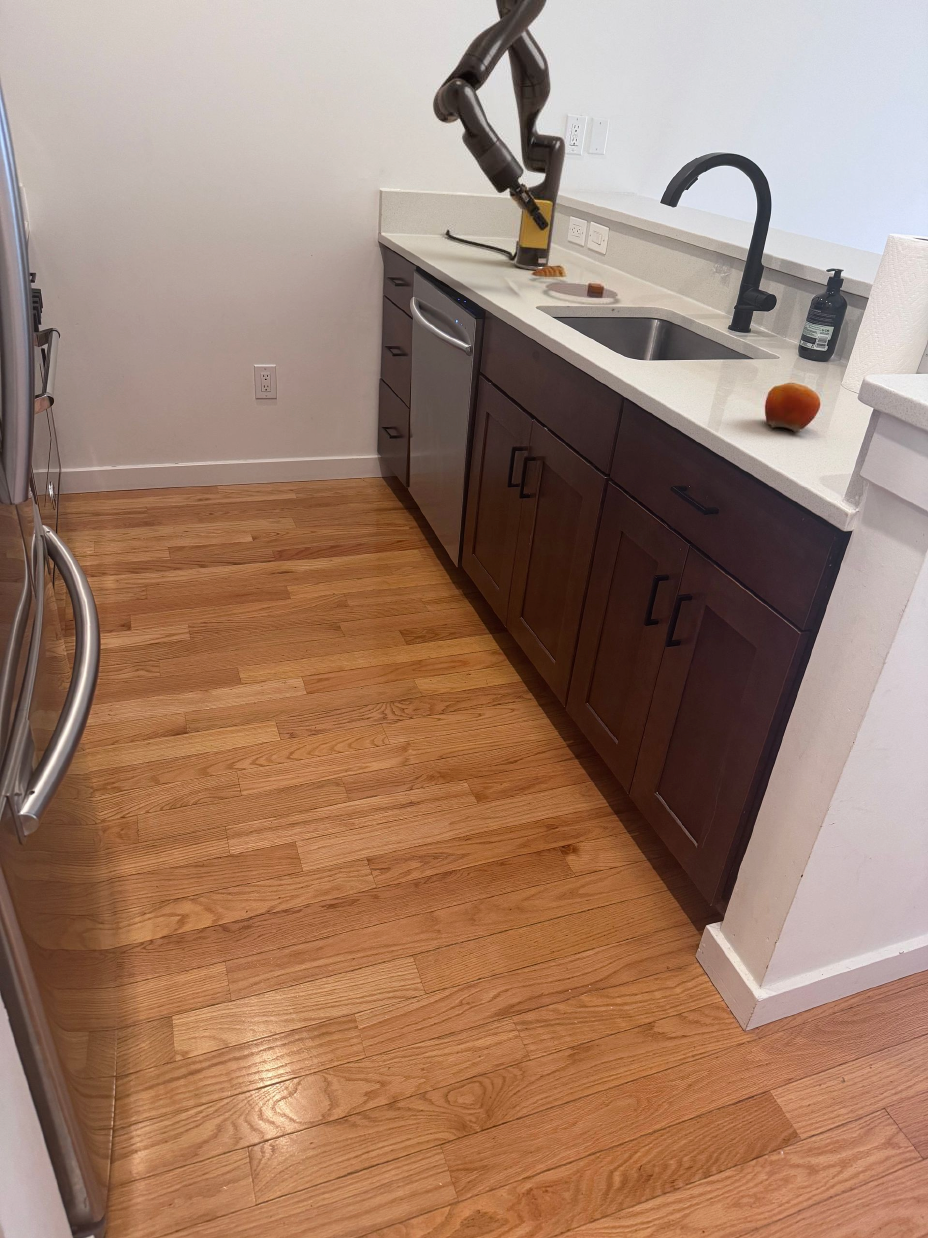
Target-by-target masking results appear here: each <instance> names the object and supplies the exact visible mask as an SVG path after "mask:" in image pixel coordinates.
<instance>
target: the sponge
mask: <svg viewBox="0 0 928 1238" xmlns="http://www.w3.org/2000/svg"><path fill="white" fill-rule="evenodd" d="M535 203H536V204H537V206H539V209H540V212H541V214H542V215H543V217H544V218H545V220H546V221H547V222H548V224H549V225H548V227H547V228H545V229H544V230H543V231H542V230H540V228H539V227H538V226H537V224H536V223H535V221H534V220H533V219H532V218H531V217H530V215H529V214H528V212H527V211H523V213H522V212H521V214H522V221H521V220H520V223H521V230H520V229H519V231H520V239H519V238H518V240H519V244H520V245H521V246H522V247H533V248H545V249H547V242H548V234H549V227H550V219H551V212H552V204H553V203H552V202H550V201H546V200H535ZM534 208H535V207H534V206H533V205H532V206H531V207H530V208H529V210H530V211H532V210H533V209H534Z"/></svg>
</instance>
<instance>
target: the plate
mask: <svg viewBox="0 0 928 1238" xmlns="http://www.w3.org/2000/svg"><path fill="white" fill-rule="evenodd" d="M545 288H546V289H548V290H549V291H552V292H555V293H558V294H562V295H567V296H573V297H579V298H588V299H611V298H616V297H618V296H619V295H618V292H616V291H614V290H611V289H609V288H605V287H604V291H603V293H594V292H591V291H589V290H588V284H585V283H575V282H552V283H548V284H546V285H545Z"/></svg>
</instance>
